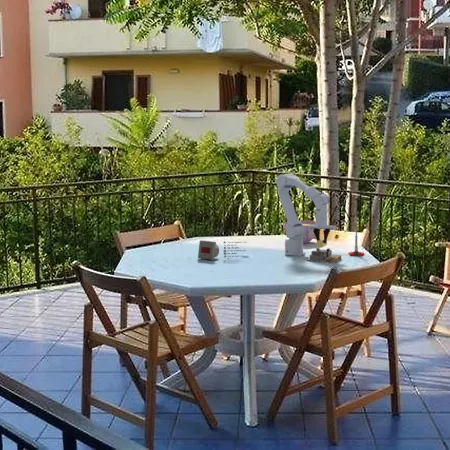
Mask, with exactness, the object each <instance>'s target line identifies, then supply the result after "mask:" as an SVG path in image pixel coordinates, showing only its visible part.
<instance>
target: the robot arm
mask: <svg viewBox="0 0 450 450" xmlns="http://www.w3.org/2000/svg"><path fill="white" fill-rule="evenodd" d="M275 183H276V185H277V195H278V197H279V200H280V203H281V206H282V210H283V212H284V215H285V217H286V222H288V224H287V225H286V229H287V236H288V237H289V238H287V236H286V238H285V240H284V241H285V242H284V255H285V256H304V255H305V254H306V252H304V244H303V237H304V235H305V233H306V229H305V227H304V226H303V225H302V222H301V221H302V220H299V219H298V216H297V214H296V211H295V207H294V204H293V202H292V199H291V196H290V193H289V192H290V190H291V189H292V188H293V187H296V188H297V189H299V190H301V191H302V192H304V195H305V196H306V197H307V198H308V199H310V200H311V201H313V204H314V206H315V207H314V208H315V222H316V225H308V229H314V230H313V232H314V234H315V236H314V237H315V238H316V241H317V240H319V239H320V238H321V235H320V234H321V230H323V238H324V243H326V242H327V243H328V237H329V235H330V232H331V230H332V231H335V230H336V225H329V224H328V204H329V202H330V198H329V196H328V195H327V194H326V193H322V192H321V191H319V190H317V189H316V187H315V186H308V185H307V184H305V182H303V181H302V180H301V179H299V178H298V176H297V175H295V174H294V173H292V172H291V173H286V174H279V175H278V176H277V178H276V180H275ZM293 226H294V227H293Z"/></svg>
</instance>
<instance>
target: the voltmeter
mask: <svg viewBox="0 0 450 450" xmlns="http://www.w3.org/2000/svg"><path fill="white" fill-rule="evenodd" d="M239 243H243V241H234V242H233V241H232V242H230V241H223V245H224V248H223V249H224V250H223V257H224V258H228V260H229V259H230V260H231V258H233V257H242V255H237V253H236V252H245V249H243V250H241V249H240V247H239V246H238V247H237V244H239ZM247 243H248V242H247V241H245V244H247ZM198 244H199V245H198V254H197V258H198V259H199V258H201V259H200V260H206V259H210V260H209V261H214V260H215V258H214V257H216V258H218V256H219V254H220V248H219V246H218V245H217V241H211V240H202V239H200V240H199V243H198ZM225 244H226V245H225ZM227 244H231V247H230V246H227ZM226 247H227V248H226ZM226 249H227V250H226ZM230 249H232V250H230ZM233 249H235V250H233ZM236 249H237V250H236ZM229 250H230V252H232V253H231V255H229ZM233 252H234V253H233ZM213 259H214V260H213Z"/></svg>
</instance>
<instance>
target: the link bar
mask: <svg viewBox="0 0 450 450" xmlns="http://www.w3.org/2000/svg"><path fill="white" fill-rule="evenodd" d="M325 246H328V241H327V242H326V243H324V237H320V239H319V240H317V239H316V248H324V247H325Z"/></svg>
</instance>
